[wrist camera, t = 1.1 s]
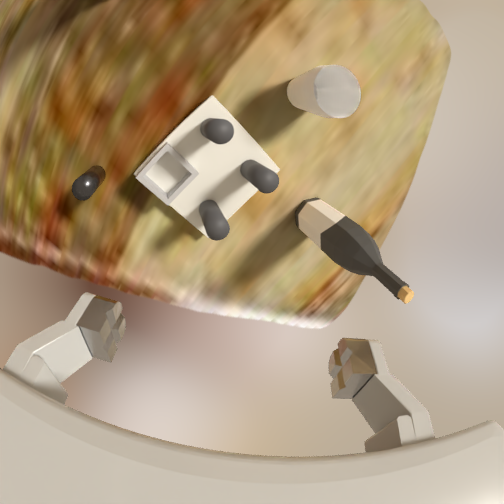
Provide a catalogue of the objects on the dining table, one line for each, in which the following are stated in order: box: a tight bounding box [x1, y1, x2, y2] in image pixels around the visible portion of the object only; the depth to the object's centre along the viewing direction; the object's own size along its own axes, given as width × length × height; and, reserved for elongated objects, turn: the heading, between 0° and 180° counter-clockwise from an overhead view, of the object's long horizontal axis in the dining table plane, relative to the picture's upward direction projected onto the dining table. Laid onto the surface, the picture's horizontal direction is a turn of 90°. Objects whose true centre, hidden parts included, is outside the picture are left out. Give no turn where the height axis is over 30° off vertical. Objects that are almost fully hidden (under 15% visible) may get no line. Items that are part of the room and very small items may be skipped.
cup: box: [287, 65, 361, 118], centre depth 39 cm, size 9×9×12 cm
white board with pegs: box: [134, 95, 280, 240], centre depth 42 cm, size 18×18×12 cm
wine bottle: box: [295, 198, 414, 304], centre depth 45 cm, size 8×8×30 cm
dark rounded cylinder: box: [72, 166, 105, 200], centre depth 37 cm, size 4×4×9 cm
